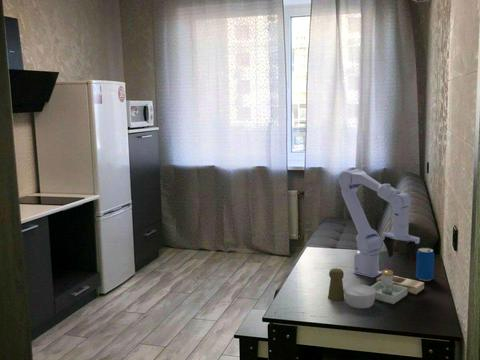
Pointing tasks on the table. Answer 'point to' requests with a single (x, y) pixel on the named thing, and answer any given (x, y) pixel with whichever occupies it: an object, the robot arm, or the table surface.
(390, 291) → the white and gold cylinder
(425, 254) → the beverage can
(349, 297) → the ramekin
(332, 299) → the cork
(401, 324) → the table surface
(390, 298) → the tray
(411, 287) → the wooden block with hole
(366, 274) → the robot arm
